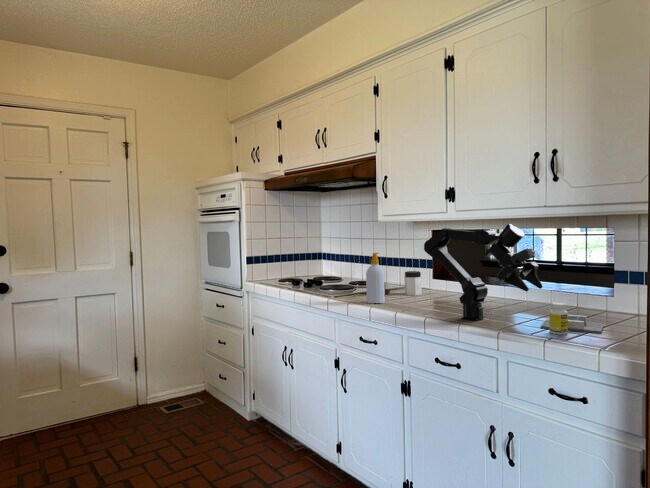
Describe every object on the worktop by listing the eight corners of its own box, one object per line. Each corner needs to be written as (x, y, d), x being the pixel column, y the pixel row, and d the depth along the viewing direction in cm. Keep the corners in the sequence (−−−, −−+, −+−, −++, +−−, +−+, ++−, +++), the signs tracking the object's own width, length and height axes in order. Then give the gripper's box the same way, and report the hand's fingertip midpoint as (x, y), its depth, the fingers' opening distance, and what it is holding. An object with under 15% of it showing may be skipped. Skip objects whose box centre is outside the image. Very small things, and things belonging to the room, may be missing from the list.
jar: (412, 296, 240) (412, 273, 239) (401, 294, 246) (401, 272, 246) (424, 294, 245) (424, 271, 244) (413, 292, 251) (412, 270, 251)
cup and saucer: (394, 293, 252) (394, 282, 251) (380, 296, 243) (380, 284, 243) (377, 291, 260) (377, 280, 260) (363, 294, 252) (362, 283, 251)
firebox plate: (540, 328, 162) (540, 318, 161) (546, 321, 172) (546, 312, 171) (600, 333, 152) (600, 323, 151) (603, 326, 162) (603, 317, 161)
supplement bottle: (562, 335, 150) (562, 305, 150) (546, 332, 155) (546, 303, 154) (571, 333, 154) (570, 303, 153) (554, 330, 158) (554, 301, 158)
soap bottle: (387, 301, 226) (386, 252, 225) (381, 304, 217) (380, 253, 217) (370, 300, 230) (369, 252, 229) (364, 303, 221) (363, 253, 220)
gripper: (504, 241, 158) (536, 276, 150) (532, 239, 170) (564, 271, 161) (484, 264, 165) (514, 298, 156) (513, 260, 176) (542, 292, 168)
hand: (534, 289), depth 160 cm, fingers open, 9 cm apart
